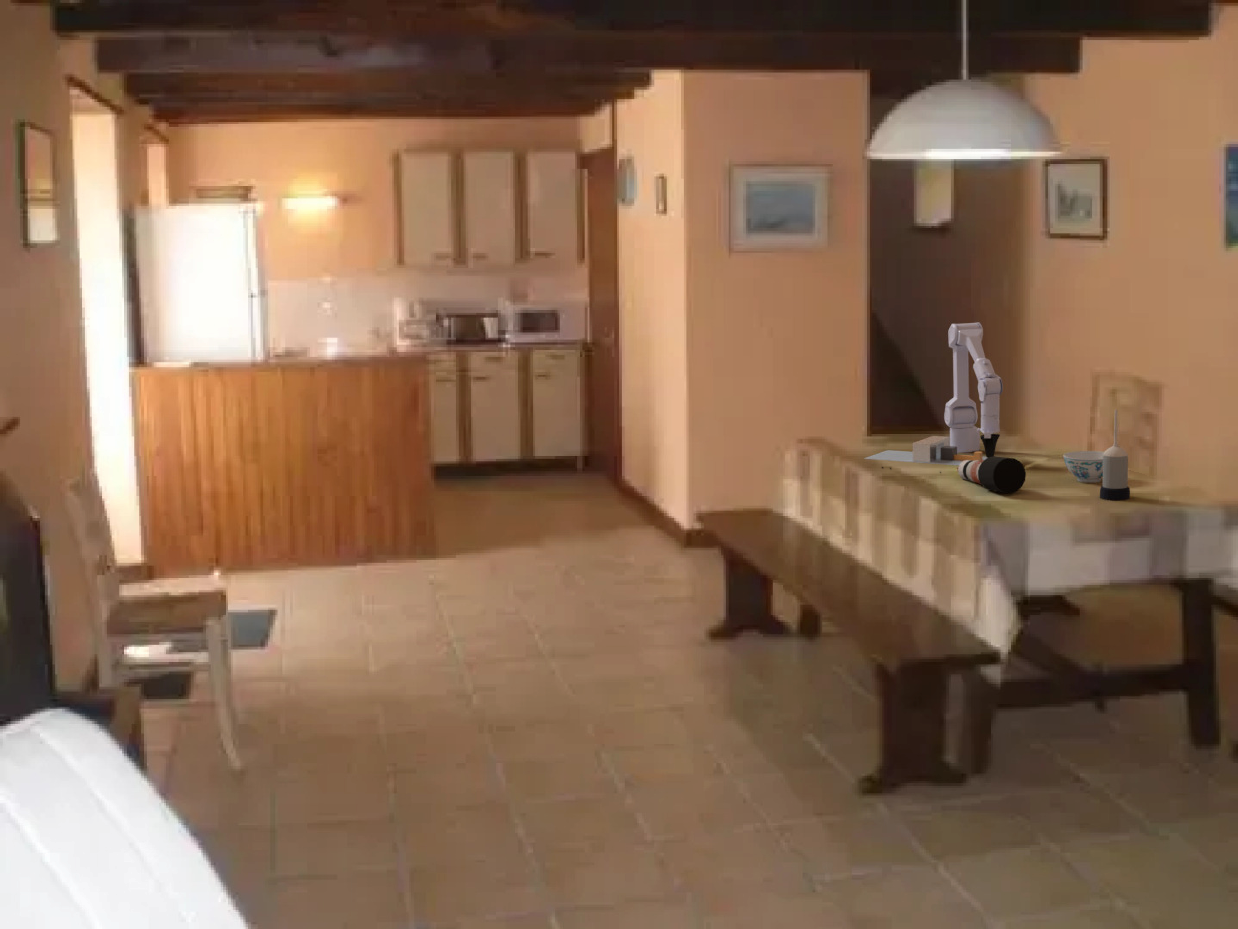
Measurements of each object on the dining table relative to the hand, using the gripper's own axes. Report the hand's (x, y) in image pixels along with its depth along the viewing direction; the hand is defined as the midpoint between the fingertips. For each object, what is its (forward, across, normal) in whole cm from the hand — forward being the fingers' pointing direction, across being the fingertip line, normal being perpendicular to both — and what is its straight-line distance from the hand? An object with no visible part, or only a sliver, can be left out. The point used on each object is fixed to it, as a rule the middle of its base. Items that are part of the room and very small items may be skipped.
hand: (990, 457), depth 496 cm
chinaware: (+3, +23, +32) cm, 39 cm away
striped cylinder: (+3, +36, +2) cm, 36 cm away
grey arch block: (+2, -5, -19) cm, 20 cm away
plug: (+2, -2, -9) cm, 10 cm away
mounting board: (+2, -5, -20) cm, 21 cm away
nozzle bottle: (+2, +48, +40) cm, 63 cm away
